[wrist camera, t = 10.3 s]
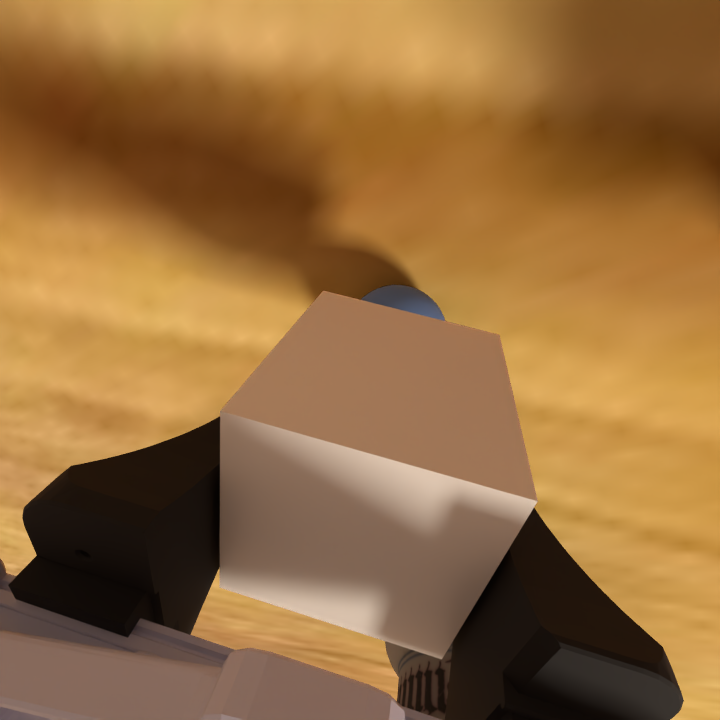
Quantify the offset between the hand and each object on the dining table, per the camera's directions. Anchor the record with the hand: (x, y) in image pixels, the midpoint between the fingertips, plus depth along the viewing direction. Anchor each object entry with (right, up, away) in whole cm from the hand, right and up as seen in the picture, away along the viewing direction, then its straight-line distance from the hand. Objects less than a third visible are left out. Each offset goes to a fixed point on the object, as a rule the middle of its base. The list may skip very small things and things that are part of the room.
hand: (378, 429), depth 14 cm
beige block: (0, +1, +1) cm, 2 cm away
